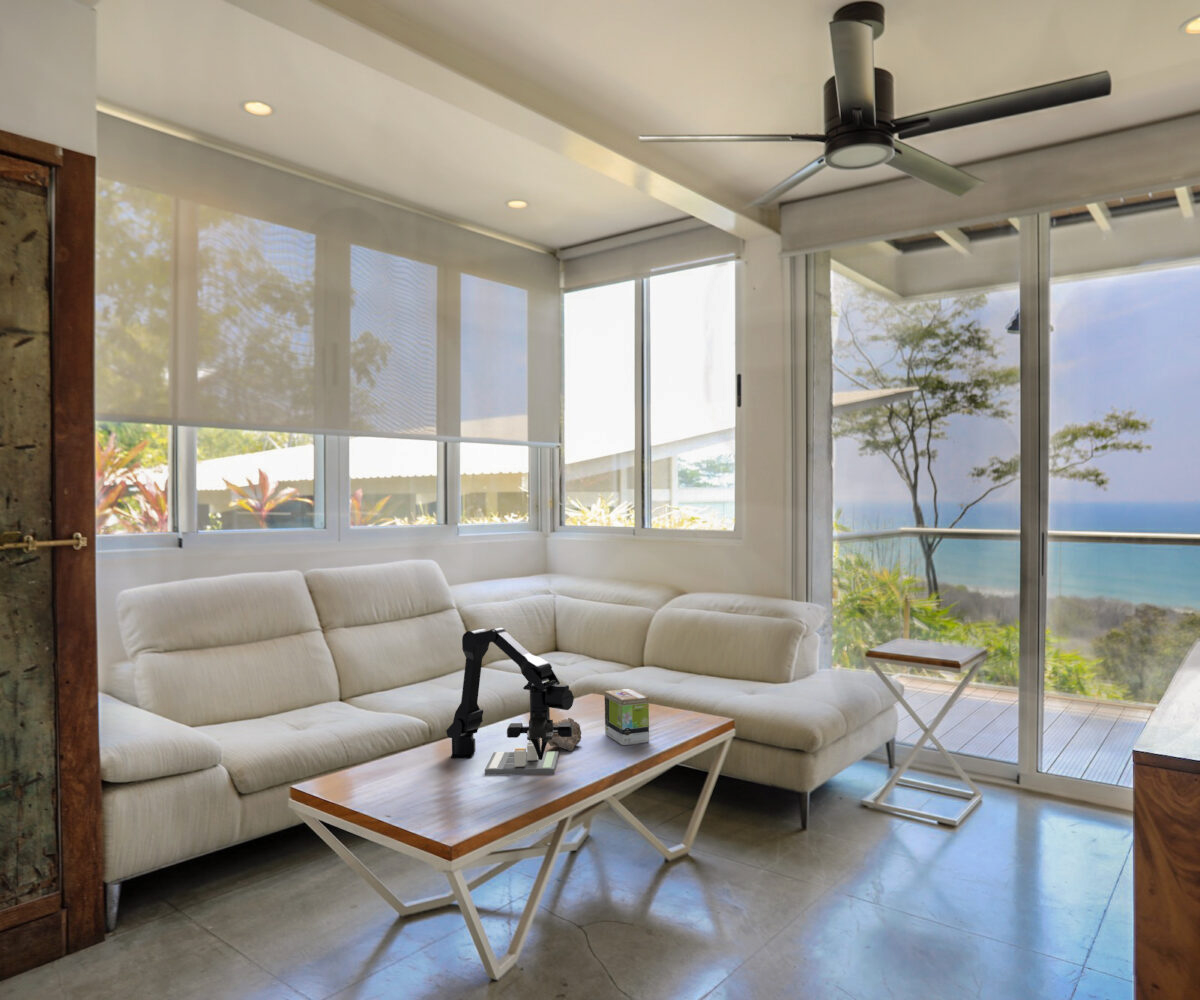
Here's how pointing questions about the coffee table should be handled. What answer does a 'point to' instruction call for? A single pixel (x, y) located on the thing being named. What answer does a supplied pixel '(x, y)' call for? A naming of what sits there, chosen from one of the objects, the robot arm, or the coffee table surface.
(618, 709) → the tea box
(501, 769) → the breaker panel
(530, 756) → the block
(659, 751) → the coffee table surface
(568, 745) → the coral
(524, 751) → the block
